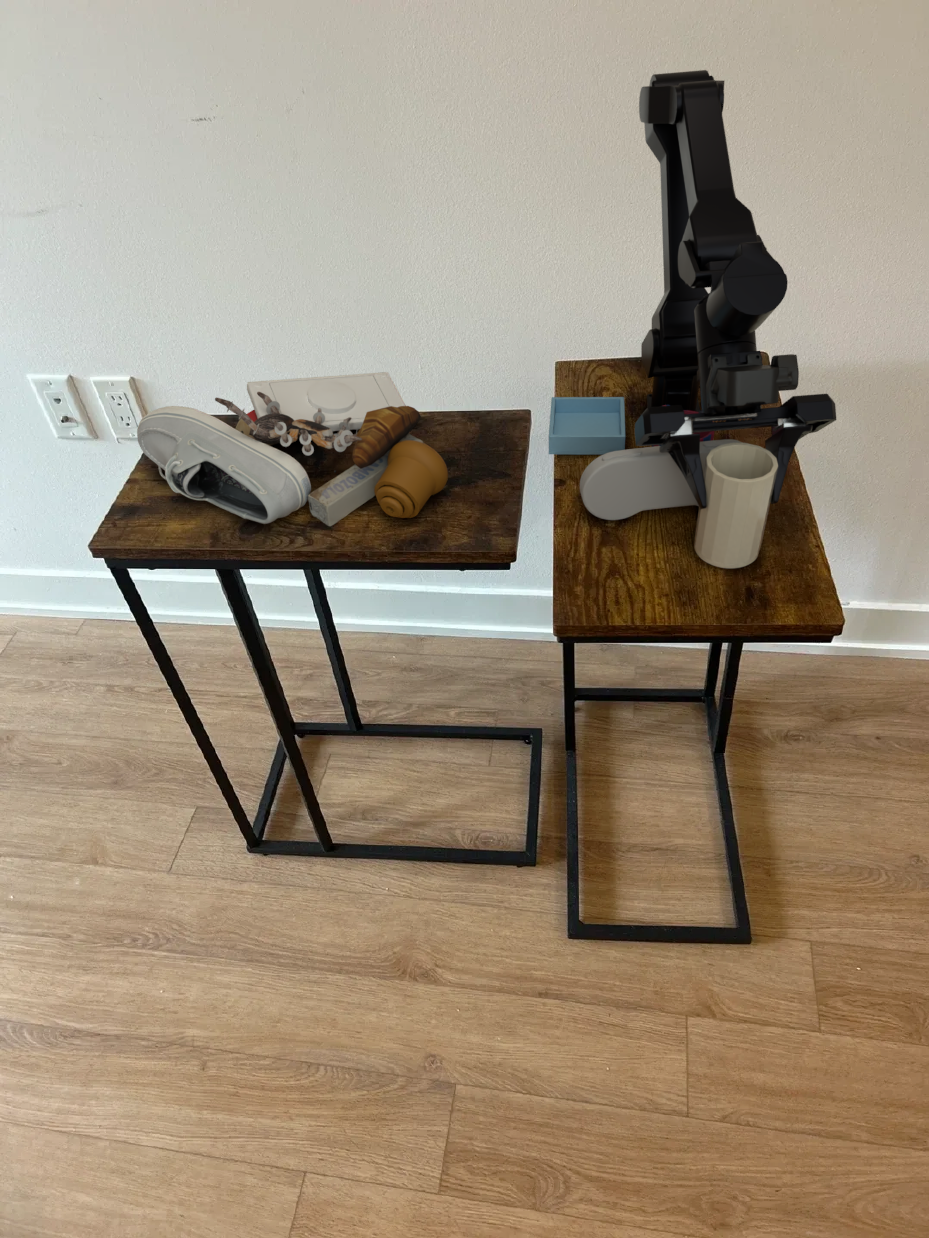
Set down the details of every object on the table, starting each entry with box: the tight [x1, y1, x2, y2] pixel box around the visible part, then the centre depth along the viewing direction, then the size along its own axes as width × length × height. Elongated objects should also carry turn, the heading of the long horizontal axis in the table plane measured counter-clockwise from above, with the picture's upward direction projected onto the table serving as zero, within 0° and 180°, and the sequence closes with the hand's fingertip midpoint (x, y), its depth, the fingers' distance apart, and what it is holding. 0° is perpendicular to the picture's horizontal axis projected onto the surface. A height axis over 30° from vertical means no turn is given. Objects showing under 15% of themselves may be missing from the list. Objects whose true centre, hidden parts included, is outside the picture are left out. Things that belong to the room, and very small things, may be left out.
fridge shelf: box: [548, 396, 626, 456], centre depth 111 cm, size 9×9×3 cm
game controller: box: [579, 438, 743, 521], centre depth 97 cm, size 20×2×8 cm, turn 95°
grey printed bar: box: [307, 432, 424, 527], centre depth 105 cm, size 4×16×5 cm
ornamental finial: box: [374, 440, 449, 519], centre depth 101 cm, size 8×8×8 cm
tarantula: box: [214, 392, 362, 456], centre depth 105 cm, size 16×18×5 cm
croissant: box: [352, 405, 422, 469], centre depth 103 cm, size 14×7×5 cm
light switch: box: [246, 371, 407, 432], centre depth 115 cm, size 11×2×19 cm
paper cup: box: [693, 442, 778, 569], centre depth 90 cm, size 7×7×11 cm
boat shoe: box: [136, 405, 312, 525], centre depth 104 cm, size 25×9×8 cm
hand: (738, 505), depth 89 cm, fingers closed on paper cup, 7 cm apart
